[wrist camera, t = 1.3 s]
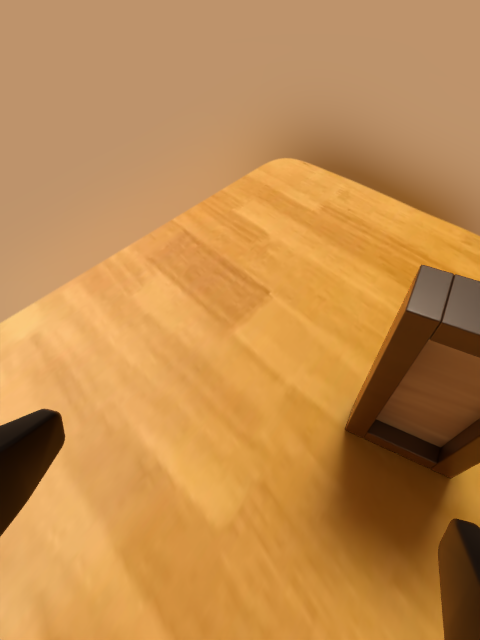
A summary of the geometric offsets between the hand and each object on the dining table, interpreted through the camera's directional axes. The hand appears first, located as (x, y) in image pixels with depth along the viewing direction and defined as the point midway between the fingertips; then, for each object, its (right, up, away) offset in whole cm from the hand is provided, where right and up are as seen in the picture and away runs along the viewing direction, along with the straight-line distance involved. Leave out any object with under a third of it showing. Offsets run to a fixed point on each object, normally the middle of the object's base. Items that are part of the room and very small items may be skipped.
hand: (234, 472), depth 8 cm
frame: (+10, -4, +15) cm, 18 cm away
